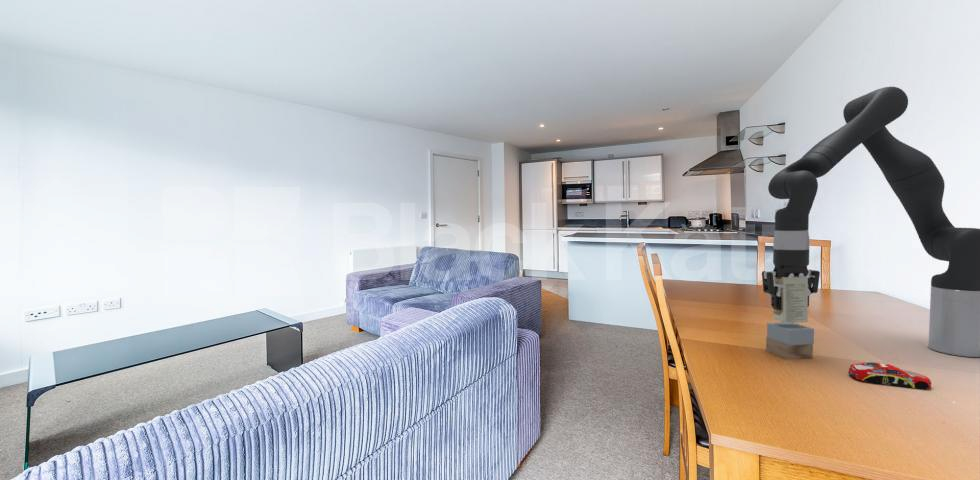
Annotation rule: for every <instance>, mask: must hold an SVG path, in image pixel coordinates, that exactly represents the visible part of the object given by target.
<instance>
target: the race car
mask: <svg viewBox="0 0 980 480" xmlns="http://www.w3.org/2000/svg"><path fill="white" fill-rule="evenodd" d="M847 373H848V374H849V375H851V377H853V378H854V379H856V380H859V381H862V382H866V383H869V384H870V383H873V384H872V385H878V384H879V385H885V386H886V385H887V386H895V387H904V388H913V389H917V390H922V389H923V390H924V391H926V390H927V389H931V388H932V381H931V379H930V378H929V377H928V376H926V375H923V374H920V373H917V372H913V371H910V370H905V369H901V368H899V367H897V366H894V365H892V364H888V363H884V362H873V361H872V362H860V363H852V364H850V366H849V368H848V372H847Z"/></svg>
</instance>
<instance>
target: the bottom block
mask: <svg viewBox="0 0 980 480" xmlns="http://www.w3.org/2000/svg"><path fill="white" fill-rule="evenodd" d="M765 339H766V341H765V344H766V346H765V351H767V352H770V353H771V354H773V355H775V356H778V357H780V358H781V359H784V360H787V361H789V360H813V358H814V357H813V356H814V355H813V354H814V344H805V345H787V344H784V343H781V342H779V341H776V340H773V339H771V338H768V337H767V336H766V338H765Z"/></svg>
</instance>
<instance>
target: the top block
mask: <svg viewBox="0 0 980 480" xmlns="http://www.w3.org/2000/svg"><path fill="white" fill-rule="evenodd" d="M766 337H768V338H771V339H773V340H776V341H779V342H781V343H784V344H787V345H805V344H813V345H814V344H815V343H814V342H815V329H814V328H812V327H809V326H805V325H802V324H800V323H797V322H788V323H784V322H781V321H778V322H767V324H766Z"/></svg>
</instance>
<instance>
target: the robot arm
mask: <svg viewBox="0 0 980 480" xmlns="http://www.w3.org/2000/svg"><path fill="white" fill-rule="evenodd" d="M908 106H909V97H908V95H907V94H906V92H905V91H904V90H903V89H901V88H900V87H897V86H885V87H880V88H877V89H875V90H873V91H869V92H868V93H866V94H863V95H861V96H859V97H857V98H856V97H855V98H854V99H852V100H850V101H849V102H847V103H846V104H845V106H844V109H843V113H842V115H843V118H844V122H845V124H844V125H843V126H841V127H839V128H838V129H837V130H835V131H833V132H831V133H830V134H829V135H827V136H826V137H823V139H821V140H820V141H819V142H817V143H816V144H815V145H813V146H812V147H811V148H810V149H809V150H807V152H806V153H804V154H803V156H802V157H801V158H799V159H798V160H796V161H794V162H792V163H791V164H789V165H788V166H786V167H784V168H783V169H781V170H780V171H778V172H777V173H775V175H774V176H773V177H772V178H771V180H770V181H769V183H768V186H767V188H768V193H769V195H770V196H771V197H773V198H775V199H778V200H788V202H787V205H786V206H785V207H783V208H779V209H778V210H777V211H775V215H774V232H773V234H774V235H773V242H772V243H773V249H772V251H773V253H772V264H773V266H774V268H773V270H770V271H767V270H766V271H765V270H763V271H762V272H761V279H762V288H763V289H762V290H763V293H764V294H769V295H770V296H771V297H770V301H771V303H770V306H771V307H772V309H773V310H774V309H775V310H781V306H782V303H781V297H780V296H781V294H782V288H783V285H780V284H776V281H774V278H775V277H776V279H777V277H778V278H779V279H781V277H787V278H792V277H794V276H798V277H804V276H805V277H808V308H809V307H810V296H811V295H812V294H817V293H818V290H819V282H820V275H821V274H820V273H821V272H820V271H819V270H815V269H808V266H809V265H810V240H811V239H810V234H809V233H810V232H809V221H810V220H809V216H810V212H811V210H812V207H813V204H814V202H815V198H816V196H817V193H818V188H819V184H818V183H819V182H818V178H821V177H823V176H825V175H827V174H828V173H829V172H831V170H832V169H833V168H835V166H836V165H838V164H839V163H840V162H841V161H842V160H843V159H844V158H845V157H847V156H848V155H849V154H850V153H851V152H853V150H855V149H856V148H857V147H859V146H860V145H861V144H862V145H863V147H865V149H866V150H867V151H868V153H869V155H870V156H871V157H872V159H873V161H874V163H876V164H877V166H878V168H879V169H880V171H881V173H882V174H883V176H884V178H885V180H886V181H887V184H888V185H889V186H890V188H891V190H892V192H893V193H894V194H895V196H896V197H897V199H898V200H899V201H900V204H901V205H902V207H903V209H904V210H905V212H906V214H907V215H908V218H909V219H910V221H911V223H912V225H913V227H914V229H915V232H916V234H917V236H918V238H919V241H920V243H921V246H922V247H923V249H924V251H925V252H926V253H927V254H928V255H929V257H932V258H933V259H935V260H939V261H943V262H948V266H947V269H946V271H944V272H942V273H937V274H934V275H933V276H931V280H930V301H929V320H928V321H929V322H928V323H929V324H928V341H927V342H928V346H927V347H928V348H929V349H931V350H933V351H936V352H939V353H944V354H948V355H953V356H960V357H969V358H980V228H979V227H978V228H975V227H955V225H953V224H952V222H951V221H950V220H949V218H948V216H947V214H946V213H945V211H944V209H943V199H944V193H945V180H944V179H945V178H943V177H944V176H943V175H942V173H941V171H940V169H938V167H937V165H936V164H935V162H934V161H933V159H932V158H931V157H930V156H929V155H927V154H926V153H924V152H923V151H921V150H919V149H916V148H915V147H913V146H910V145H908V144H907V143H904V142H902V141H900V140H899V139H898V138H896V137H895V136H894V135H893V134H892V133H891V132H890V131H889V129H888V128H887V127H886V126H888V125H889V124H891V123H892V122H894V121H895V120H897V119H899V118H900V117H901V116H902V115H904V113H905V112H906V110H907V109H908ZM774 276H775V277H774ZM777 287H778V290H777Z"/></svg>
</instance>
